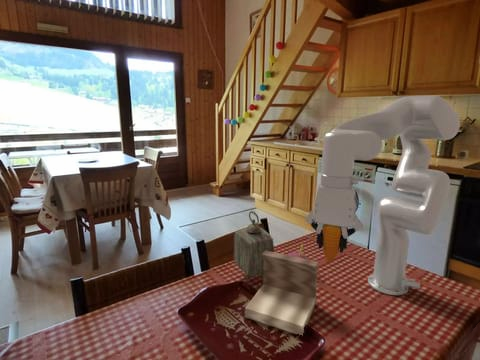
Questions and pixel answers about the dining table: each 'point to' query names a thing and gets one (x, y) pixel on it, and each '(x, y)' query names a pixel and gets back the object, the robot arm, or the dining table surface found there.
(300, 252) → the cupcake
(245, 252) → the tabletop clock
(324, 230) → the carrot
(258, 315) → the shelf
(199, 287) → the dining table surface
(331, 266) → the dining table surface
